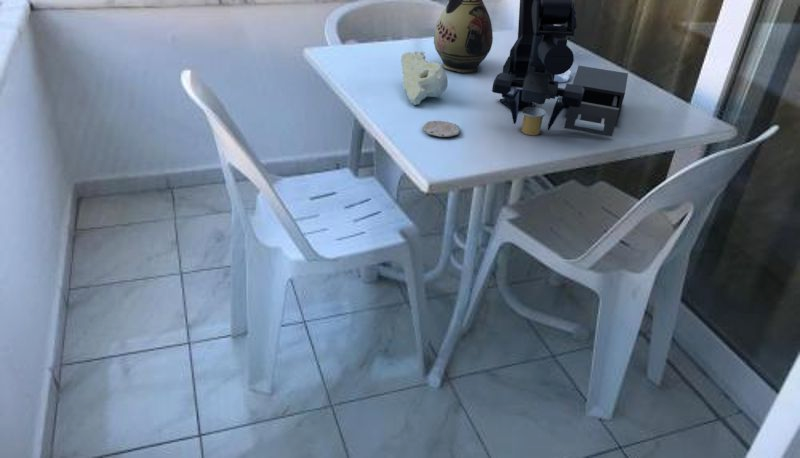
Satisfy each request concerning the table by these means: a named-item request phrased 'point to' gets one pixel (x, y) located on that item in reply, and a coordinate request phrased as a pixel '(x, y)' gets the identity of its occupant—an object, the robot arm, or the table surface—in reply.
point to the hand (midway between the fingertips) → (531, 126)
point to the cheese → (422, 77)
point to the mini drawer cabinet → (602, 82)
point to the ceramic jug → (463, 35)
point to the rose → (562, 76)
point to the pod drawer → (594, 114)
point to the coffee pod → (532, 120)
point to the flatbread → (441, 128)
